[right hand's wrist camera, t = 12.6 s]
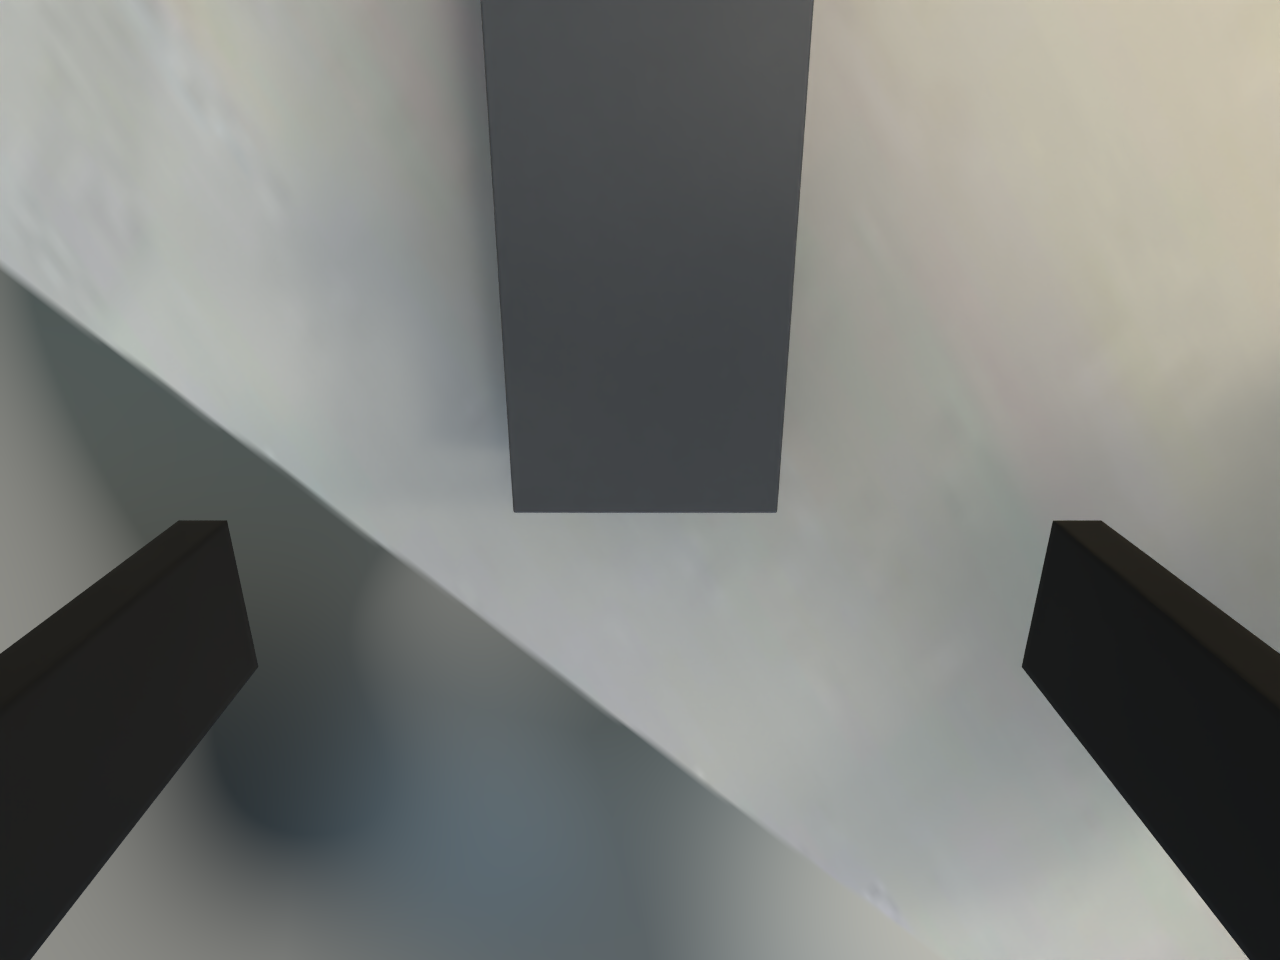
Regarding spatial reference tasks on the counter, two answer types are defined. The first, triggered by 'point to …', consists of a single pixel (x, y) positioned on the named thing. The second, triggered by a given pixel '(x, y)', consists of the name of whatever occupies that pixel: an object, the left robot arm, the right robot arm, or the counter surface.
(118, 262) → the counter surface
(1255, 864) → the right robot arm
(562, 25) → the dark gray long bar
